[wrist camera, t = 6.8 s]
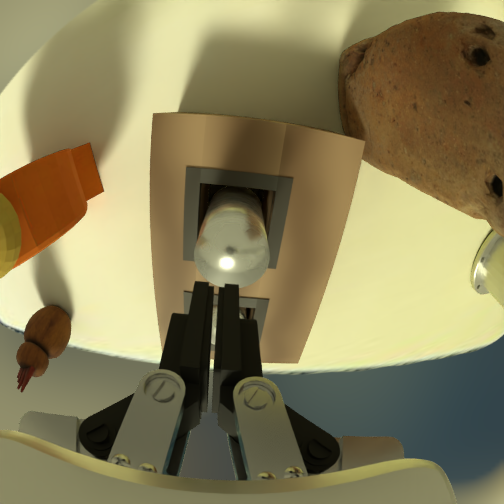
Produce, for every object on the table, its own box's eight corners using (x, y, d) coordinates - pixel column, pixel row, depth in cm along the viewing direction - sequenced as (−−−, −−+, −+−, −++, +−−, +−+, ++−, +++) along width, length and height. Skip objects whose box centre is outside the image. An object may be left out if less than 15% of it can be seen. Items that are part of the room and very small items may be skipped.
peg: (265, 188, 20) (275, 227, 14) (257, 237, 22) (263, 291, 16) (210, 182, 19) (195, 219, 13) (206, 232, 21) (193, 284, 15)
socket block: (333, 131, 22) (365, 141, 16) (289, 319, 33) (297, 364, 27) (177, 112, 21) (152, 113, 15) (174, 309, 32) (162, 353, 25)
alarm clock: (36, 221, 25) (-70, 328, 8) (20, 176, 22) (-103, 263, 5) (118, 192, 24) (-21, 337, 7) (102, 135, 21) (-79, 219, 4)
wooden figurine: (69, 301, 31) (20, 384, 18) (82, 331, 34) (44, 411, 21) (37, 297, 31) (-11, 369, 18) (51, 325, 34) (11, 396, 20)
